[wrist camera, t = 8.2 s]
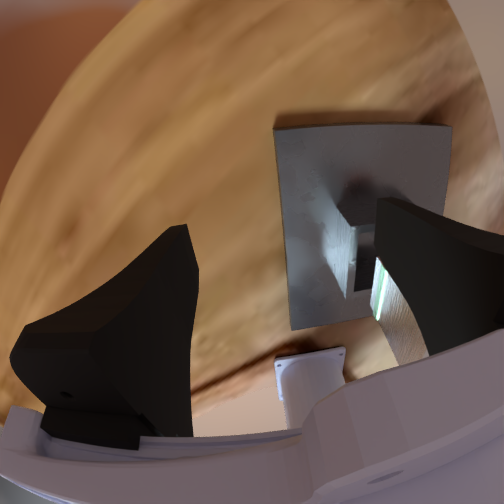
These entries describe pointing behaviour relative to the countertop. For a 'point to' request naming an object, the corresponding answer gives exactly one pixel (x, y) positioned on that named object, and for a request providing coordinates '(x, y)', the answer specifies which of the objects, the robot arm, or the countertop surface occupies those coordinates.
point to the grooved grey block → (396, 318)
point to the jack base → (349, 206)
